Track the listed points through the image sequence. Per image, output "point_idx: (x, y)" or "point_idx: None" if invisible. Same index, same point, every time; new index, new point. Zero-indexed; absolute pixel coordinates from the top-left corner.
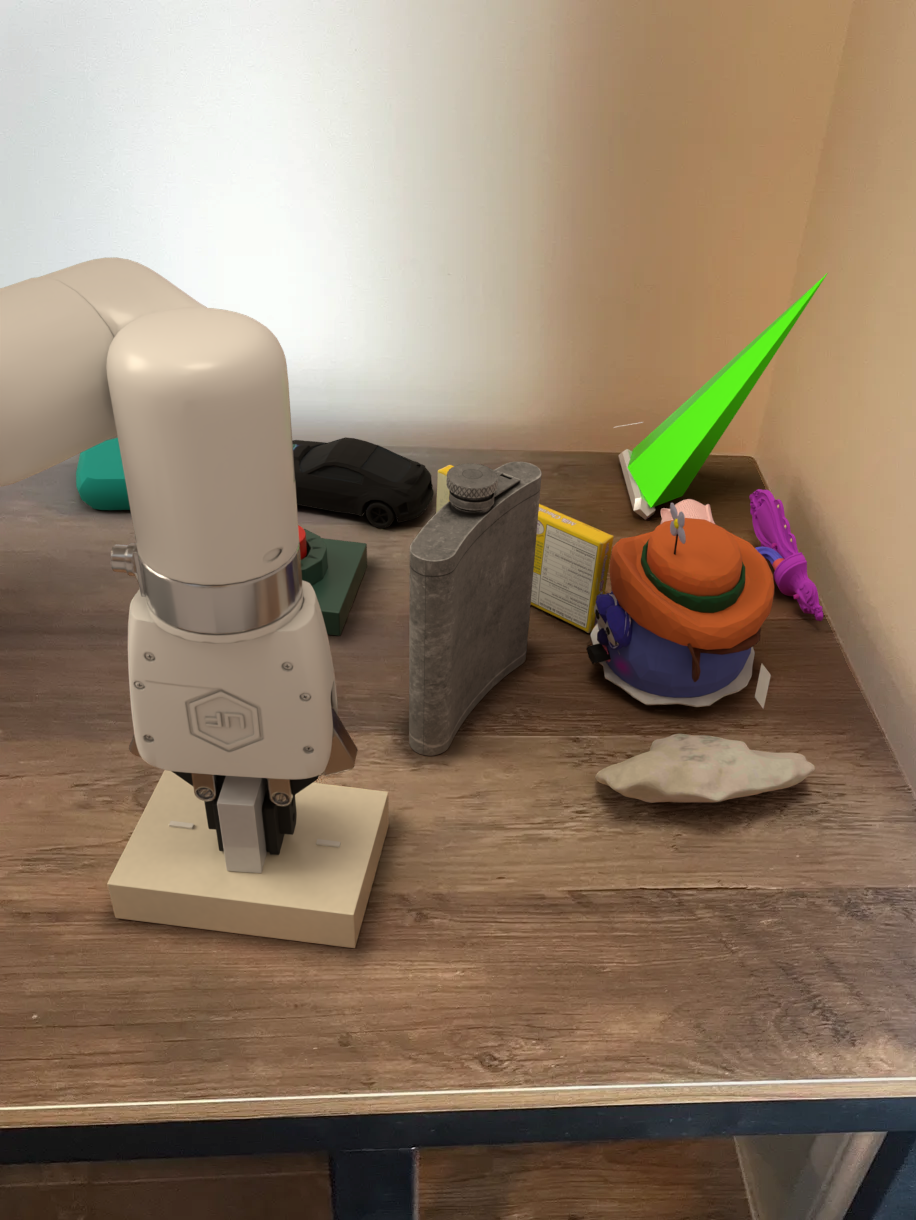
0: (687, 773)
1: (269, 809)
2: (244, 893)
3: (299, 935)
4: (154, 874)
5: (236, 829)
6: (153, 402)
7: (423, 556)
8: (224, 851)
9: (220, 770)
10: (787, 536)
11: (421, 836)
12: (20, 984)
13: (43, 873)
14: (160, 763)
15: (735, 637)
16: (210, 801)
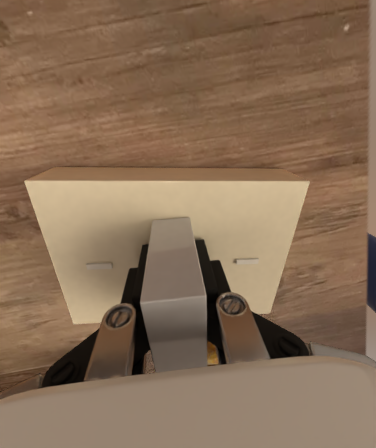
0: None
1: (137, 295)
2: (161, 191)
3: (108, 169)
4: (262, 201)
5: (175, 258)
6: None
7: None
8: (192, 232)
9: (205, 391)
10: None
11: (57, 287)
12: (361, 73)
13: (343, 205)
14: (361, 383)
15: None
16: (223, 292)
